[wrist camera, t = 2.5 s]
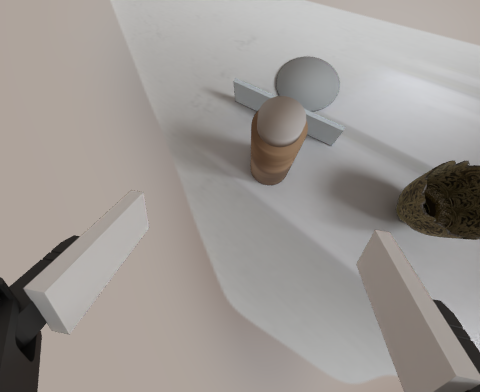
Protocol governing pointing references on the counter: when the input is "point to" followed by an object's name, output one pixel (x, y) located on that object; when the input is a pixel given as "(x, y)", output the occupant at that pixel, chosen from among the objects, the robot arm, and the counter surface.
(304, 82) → the coaster
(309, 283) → the counter surface
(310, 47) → the counter surface
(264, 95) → the acrylic wall
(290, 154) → the pepper mill
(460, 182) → the cup
